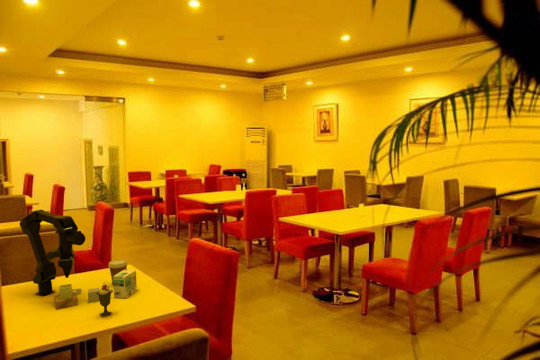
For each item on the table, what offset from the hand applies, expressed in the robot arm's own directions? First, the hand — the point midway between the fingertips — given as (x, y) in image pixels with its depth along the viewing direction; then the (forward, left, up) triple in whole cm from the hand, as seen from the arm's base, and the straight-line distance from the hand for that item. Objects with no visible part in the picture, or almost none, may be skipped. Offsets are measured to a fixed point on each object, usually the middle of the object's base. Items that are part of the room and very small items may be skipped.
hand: (67, 274), depth 198 cm
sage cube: (+5, -5, -8) cm, 11 cm away
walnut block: (+5, -5, -12) cm, 14 cm away
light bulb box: (+21, +16, -12) cm, 29 cm away
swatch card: (-5, +6, -12) cm, 14 cm away
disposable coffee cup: (+7, +25, -12) cm, 28 cm away
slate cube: (+13, +4, -12) cm, 18 cm away
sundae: (+31, -5, -12) cm, 34 cm away
